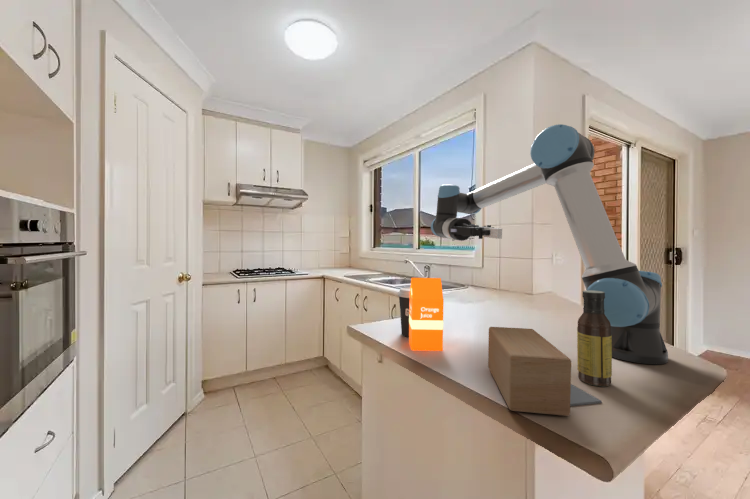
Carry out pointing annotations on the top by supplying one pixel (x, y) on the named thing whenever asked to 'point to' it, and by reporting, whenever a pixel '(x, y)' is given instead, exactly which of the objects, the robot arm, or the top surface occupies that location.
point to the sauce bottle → (594, 341)
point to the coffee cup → (404, 310)
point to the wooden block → (529, 371)
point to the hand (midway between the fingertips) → (499, 233)
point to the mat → (581, 397)
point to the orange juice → (426, 314)
